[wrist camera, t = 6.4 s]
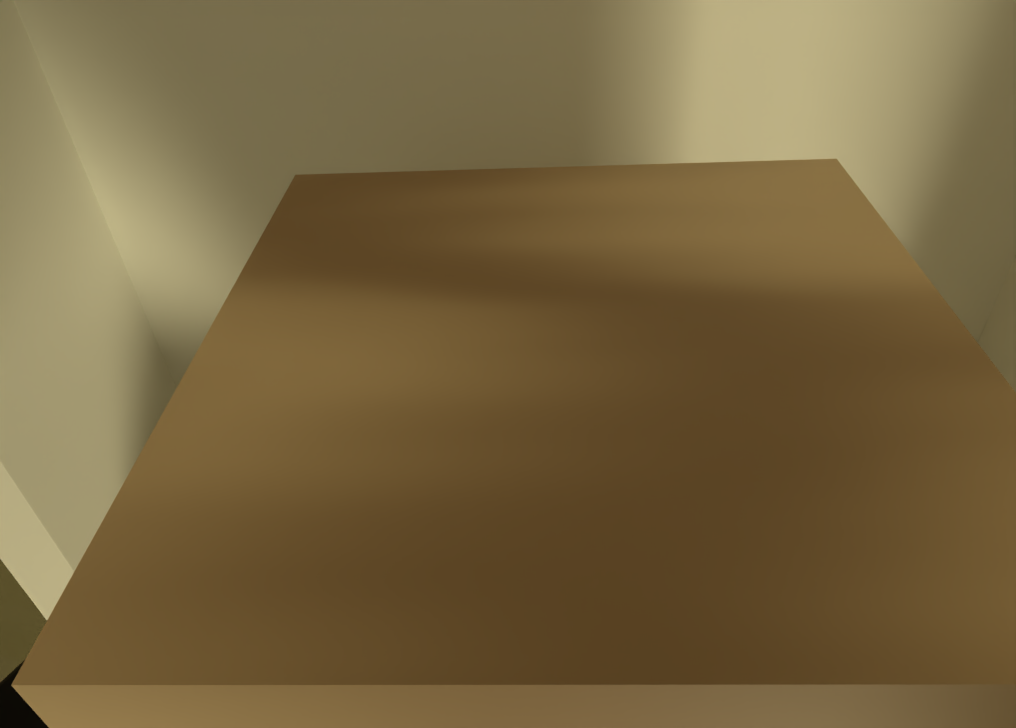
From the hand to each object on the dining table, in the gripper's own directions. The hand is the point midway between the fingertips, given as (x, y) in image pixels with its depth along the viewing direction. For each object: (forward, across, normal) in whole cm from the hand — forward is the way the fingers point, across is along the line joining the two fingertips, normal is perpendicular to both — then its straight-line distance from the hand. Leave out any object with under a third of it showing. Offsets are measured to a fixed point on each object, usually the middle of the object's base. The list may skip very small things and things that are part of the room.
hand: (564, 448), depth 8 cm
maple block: (+1, 0, 0) cm, 1 cm away
